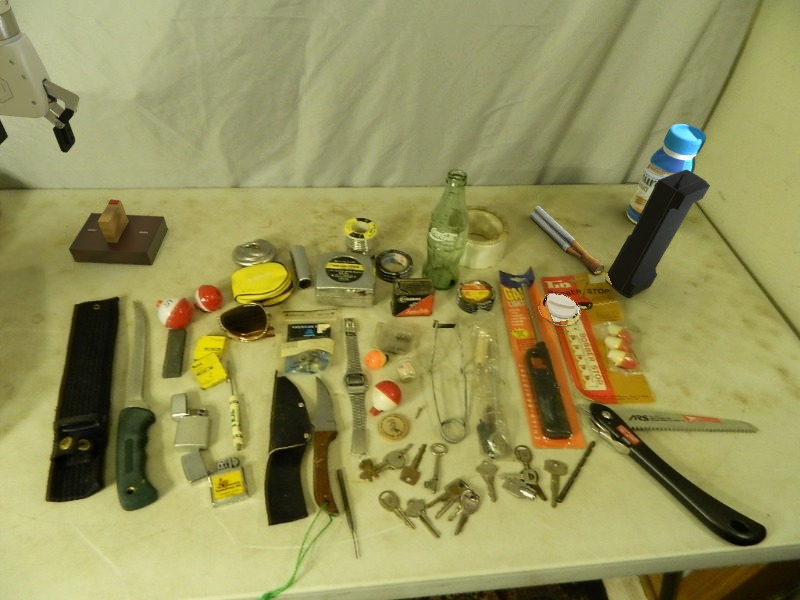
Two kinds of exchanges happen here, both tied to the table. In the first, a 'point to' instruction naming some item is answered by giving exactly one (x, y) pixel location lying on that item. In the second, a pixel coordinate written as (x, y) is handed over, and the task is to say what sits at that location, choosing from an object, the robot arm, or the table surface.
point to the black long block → (655, 231)
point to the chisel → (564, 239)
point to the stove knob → (561, 308)
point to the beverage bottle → (667, 163)
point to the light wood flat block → (113, 221)
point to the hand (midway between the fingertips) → (35, 145)
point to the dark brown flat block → (120, 241)
